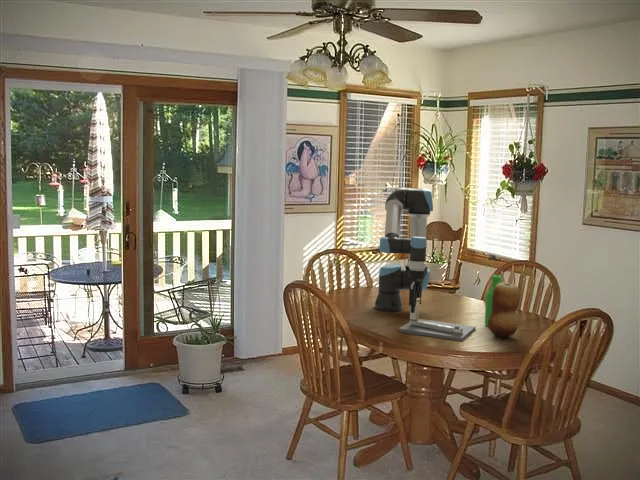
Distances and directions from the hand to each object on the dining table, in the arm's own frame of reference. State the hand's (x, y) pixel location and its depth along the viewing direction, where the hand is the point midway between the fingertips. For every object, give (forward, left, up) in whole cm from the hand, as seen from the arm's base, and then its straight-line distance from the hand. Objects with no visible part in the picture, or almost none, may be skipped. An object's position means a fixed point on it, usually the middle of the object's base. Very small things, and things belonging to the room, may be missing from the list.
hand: (414, 318), depth 324 cm
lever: (+11, -2, -3) cm, 12 cm away
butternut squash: (+40, +8, -5) cm, 41 cm away
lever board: (+11, +3, -5) cm, 12 cm away
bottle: (+32, +28, -5) cm, 43 cm away
